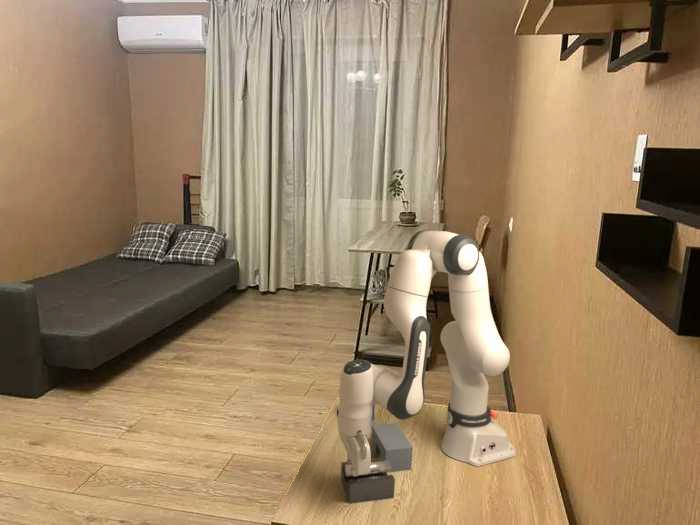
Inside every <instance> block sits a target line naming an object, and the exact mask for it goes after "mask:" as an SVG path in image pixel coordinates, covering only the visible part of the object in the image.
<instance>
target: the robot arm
mask: <svg viewBox="0 0 700 525" xmlns="http://www.w3.org/2000/svg"><path fill="white" fill-rule="evenodd" d="M437 272H439V273H440V272H442V273H446V274H447V276H448V280H447V281H448V282H447V283H448V293H449V295H448V296H449V303H450V312H451V315H452V316H453V318H454V320H453V321H450V322H448V323H447V324H445V325H444V327H443V328H442V330H441V332H440V338H439V339H440V342H441V345H442V347H443V348H444V351H445V355H446V358H447V362H448V363H447V364H448V367H449V368H448V369H449V374H450V393H449V395H450V397H449V402H448V405H447V413H446V422H447V424H446V426H445V427H446V428H445V432H444V435H443V437H442V440H441V442H440V448H441V450H442V452H443V453H444V454H445V455H447V456H448V457H450V458H451V459H454V460H457V461H460V462H464V463H467V464H469V465H472V466H474V467H482V466H486V465H489V464H493V463H497V462H500V461H503V460H507V459H511V458H515V457H516V450H515V448H514V445H513V444H512V443H511V442H510V440H509V438H508V434H507V432H506V430H505V429H504V428H503V426H502V425H500V423H498V422H497V421H496V420H497V419H498V418H499V414H498V413H497V412H496V411H495V410H492V408H491V407H489V406H488V400H489V398H488V397H489V386H490V385H489V382H488V380H487V378H486V376H485V375H487V376H491V377H496V376H498V375H501V374H502V373H503V372H504V371H505V370H506V369H507V368H508V366H509V363H510V360H511V354H510V350H509V348H508V347H507V346H506V344H505V343H504V341H503V339H502V338H501V336H500V334H499V331H498V328H497V325H496V322H495V321H494V317H493V313H492V309H491V308H492V307H491V301H490V300H491V299H490V292H489V291H490V289H489V281H488V272H487V268H486V264H485V259H484V256H483V254H482V253H481V251H480V250H479V246H478V244H477V243H476V241H475V240H473V238H471V237H469V236H467V235H464V234H458V233H454V232H450V231H447V230H443V231H442V230H433V229H422V230H418V231H417V232H415V233H414V234H413V235H412V236H411V238H410V240H409V241H408V244H407V247H406V249H405V250H404V251H402V252H400V254H399V255H398V256H397V259H396V261H395V263H394V265H393V267H392V270H391V273H390V276H389V278H388V283H387V285H386V289H385V293H384V297H383V308H384V311H385V314H386V317H388V319H389V320H390V321H391V322H392V324H394V326H396V328H397V329H398V331H399V332H400V334H401V336H402V337H403V340H404V346H405V347H404V348H405V349H404V355H403V363H402V370H401V374H400V373H398V372H397V371H395V370H393V369H392V368H390V367H387V366H386V365H383V364H374V363H371V361H369V360H368V359H367V360H366V359H359V358H358V359H354V360H351V361H348V362H347V363H346V364H344V366H343V368H342V370H341V374H340V378H339V379H340V381H339V392H338V393H339V394H338V397H339V400H340V402H339V403H340V404H339V406H337V407H336V413H335V414H336V417H337V429H338V434H339V437H340V440H341V442H342V445H343V447H344V449H345V452H346V458H347V459H346V462H347V463H348V465H349V464H352V466H353V467H351V473H352V475H353V476H358V475H367V474H369V473H370V471H371V459H372V455H371V444H370V443H369V441H368V439H367V437H366V436H367V435H368V434H370V433H372V425H373V422H372V414H373V410H372V407H373V406H374V405H379V406H380V407H382V409H383V408H384V409H385V410H386V411H388V412H389V413H390V414H391V415H393V416H394V417H395V418H396V419H398V420H400V421H404V420H405V421H406V420H409V419H411V418H413V417H415V416H416V415H418V414H419V413H420V412H421V410H422V409H423V406H424V403H425V377H426V369H427V360H428V352H429V344H430V336H431V332H430V330H431V328H430V327H431V326H430V323H429V321H428V318H427V302H428V297H429V293H430V288H431V284H432V283H431V282H432V280H433V277H434V276H435V275H436V274H437Z"/></svg>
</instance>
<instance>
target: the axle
mask: <svg viewBox="0 0 700 525" xmlns="http://www.w3.org/2000/svg"><path fill="white" fill-rule="evenodd" d="M351 467H353V466H352V464H349V465H345V475H346V477H351V476H353V475H352V473H351ZM390 471H391V464H390V461H389V460H386V461H376V462H371V471H370V473H369V474H377V473H386V472H387V473H391V472H390ZM367 475H368V474H367ZM358 476H360V475H358Z"/></svg>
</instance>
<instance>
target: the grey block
mask: <svg viewBox="0 0 700 525" xmlns="http://www.w3.org/2000/svg"><path fill="white" fill-rule="evenodd" d="M370 433H371V437H370V438H371V439H370V448H371V449H372V451H373V453H374V455H375V456H378V455H379V458H384V460H385V461H386V460H389V461H390V464H391V471H390V472H389V473H394V472H402V471H410V470H412V464H413V445H411V443H410V441H409V439H408V438H407V437H406V435H405V433H404V432H403V431H402V429H401V427H400V426H399V424H398V423H397V422H394V423H393V422H392V423H391V422H390V423H383V424H382V423H381V424H372V430H371V432H370ZM386 473H387V474H388V472H386Z"/></svg>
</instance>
